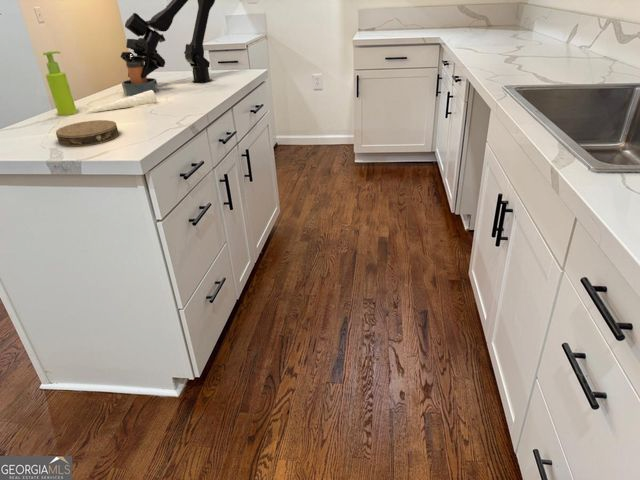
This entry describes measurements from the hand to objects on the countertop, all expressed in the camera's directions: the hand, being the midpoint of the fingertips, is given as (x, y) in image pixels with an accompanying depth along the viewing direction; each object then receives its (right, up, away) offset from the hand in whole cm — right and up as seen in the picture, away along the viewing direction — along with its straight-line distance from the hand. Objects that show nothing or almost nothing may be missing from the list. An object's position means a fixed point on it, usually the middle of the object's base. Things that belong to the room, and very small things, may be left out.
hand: (135, 77), depth 178 cm
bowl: (+1, -5, +4) cm, 7 cm away
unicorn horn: (+4, -17, -17) cm, 24 cm away
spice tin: (+1, -5, +4) cm, 6 cm away
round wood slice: (+7, -36, -49) cm, 61 cm away
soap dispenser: (-15, -20, -20) cm, 32 cm away
